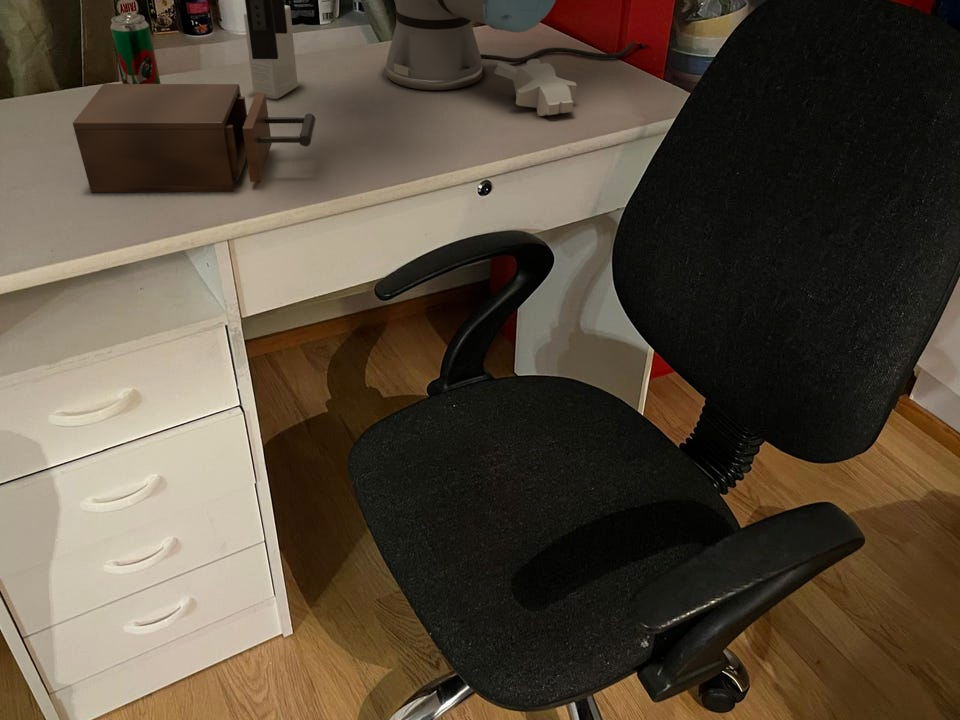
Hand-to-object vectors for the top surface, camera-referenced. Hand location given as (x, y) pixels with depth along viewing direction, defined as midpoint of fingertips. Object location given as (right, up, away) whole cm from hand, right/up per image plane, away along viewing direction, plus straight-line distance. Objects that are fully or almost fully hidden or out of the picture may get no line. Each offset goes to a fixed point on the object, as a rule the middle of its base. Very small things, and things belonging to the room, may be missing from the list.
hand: (270, 44), depth 99 cm
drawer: (-7, -12, +8) cm, 16 cm away
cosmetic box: (-7, +4, +31) cm, 31 cm away
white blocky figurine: (+33, +2, +30) cm, 44 cm away
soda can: (-24, 0, +25) cm, 35 cm away
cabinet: (-14, -13, +8) cm, 21 cm away
